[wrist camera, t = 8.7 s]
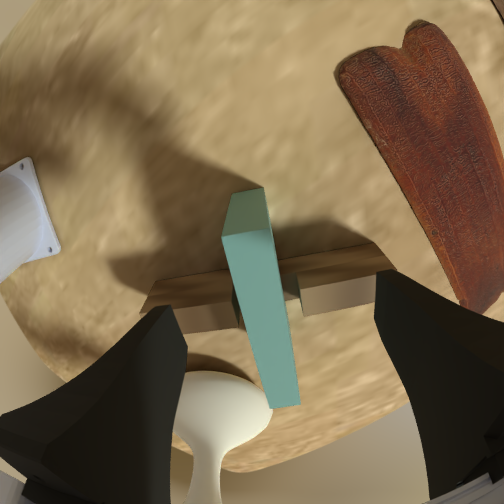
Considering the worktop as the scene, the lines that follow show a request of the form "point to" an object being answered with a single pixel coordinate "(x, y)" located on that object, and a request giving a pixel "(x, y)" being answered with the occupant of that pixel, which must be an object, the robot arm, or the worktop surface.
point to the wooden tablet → (438, 153)
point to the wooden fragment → (500, 6)
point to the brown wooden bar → (293, 284)
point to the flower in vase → (216, 425)
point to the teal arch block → (261, 294)
